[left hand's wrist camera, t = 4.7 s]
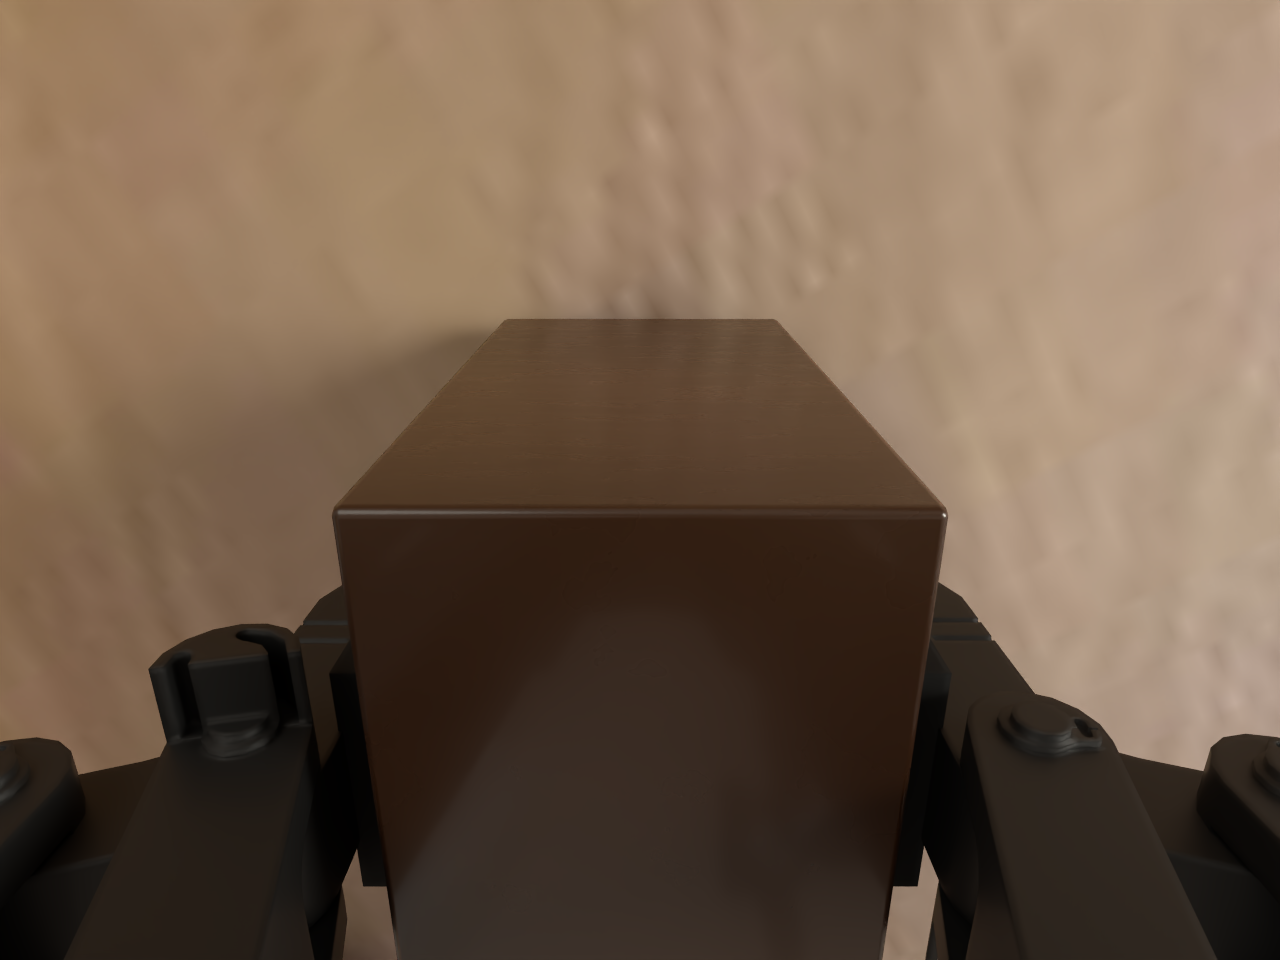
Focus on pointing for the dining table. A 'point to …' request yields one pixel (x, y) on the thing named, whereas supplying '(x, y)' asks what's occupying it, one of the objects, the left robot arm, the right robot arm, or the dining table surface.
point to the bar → (640, 649)
